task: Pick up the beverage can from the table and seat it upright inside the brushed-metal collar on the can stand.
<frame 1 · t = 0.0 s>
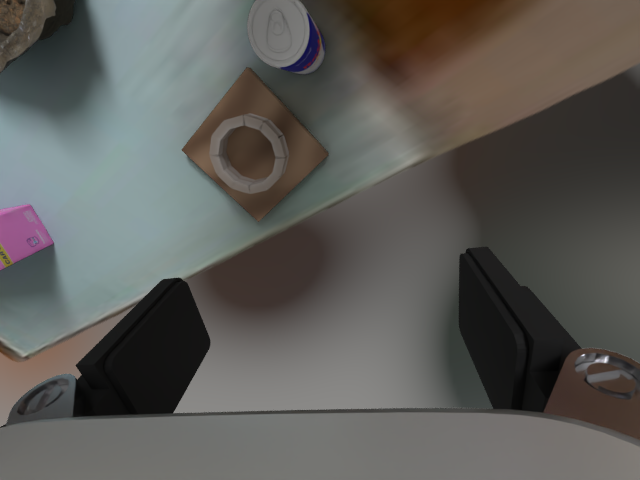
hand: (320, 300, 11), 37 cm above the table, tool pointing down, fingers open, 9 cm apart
beverage can: (303, 49, 40), on the table
can stand: (256, 150, 46), on the table
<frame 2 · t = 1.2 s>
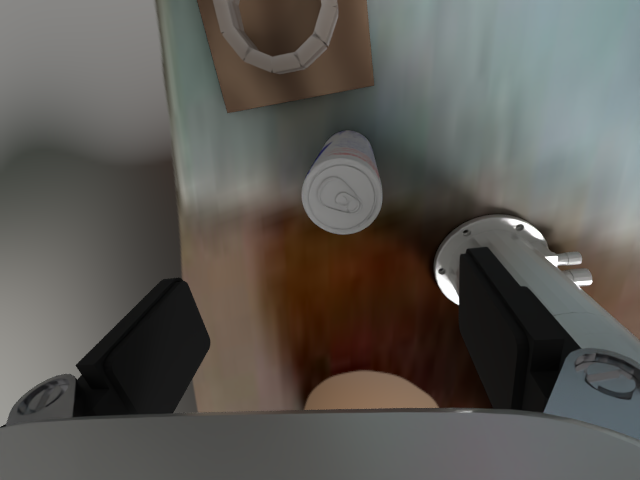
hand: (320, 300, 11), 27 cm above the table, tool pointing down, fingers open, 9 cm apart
beverage can: (347, 156, 35), on the table
can stand: (284, 13, 30), on the table
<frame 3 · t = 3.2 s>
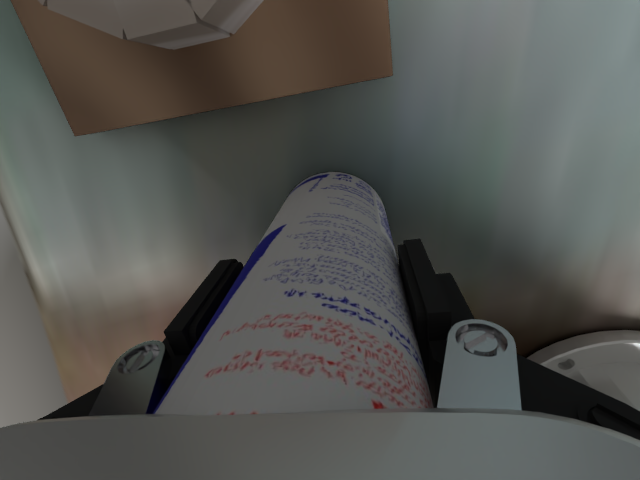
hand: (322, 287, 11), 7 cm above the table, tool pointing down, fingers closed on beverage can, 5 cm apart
beverage can: (334, 218, 18), on the table, touching gripper
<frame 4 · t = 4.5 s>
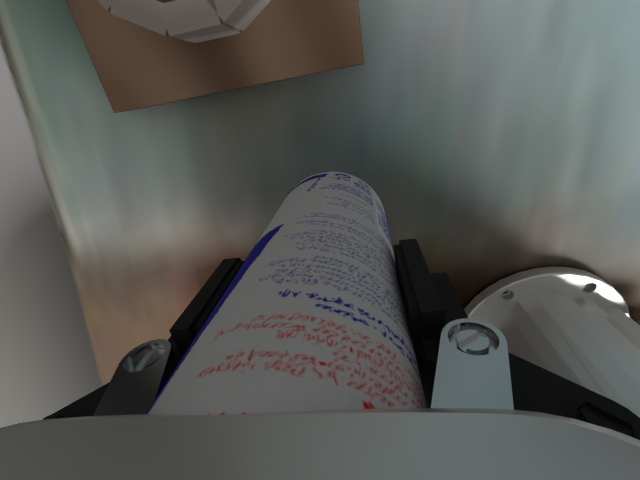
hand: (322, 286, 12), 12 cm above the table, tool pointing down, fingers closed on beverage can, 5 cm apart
beverage can: (333, 218, 18), point 5 cm above the table, touching gripper
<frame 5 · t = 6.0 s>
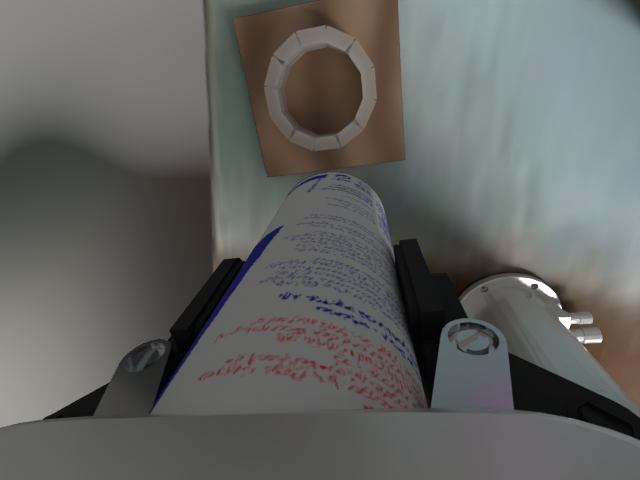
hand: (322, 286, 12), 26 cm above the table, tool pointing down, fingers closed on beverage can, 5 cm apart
beverage can: (333, 219, 18), point 19 cm above the table, touching gripper
can stand: (324, 93, 33), on the table
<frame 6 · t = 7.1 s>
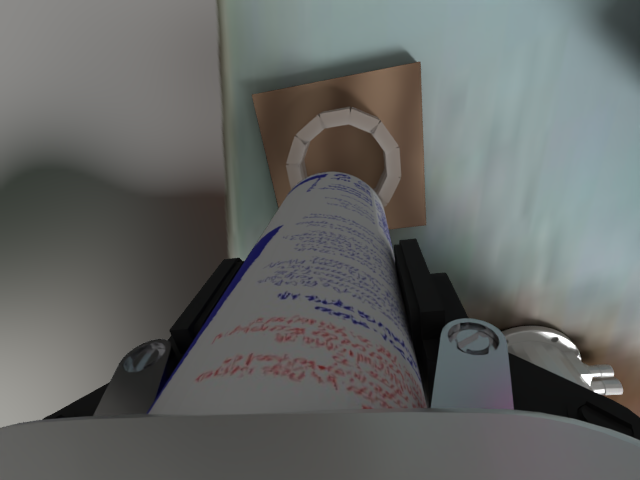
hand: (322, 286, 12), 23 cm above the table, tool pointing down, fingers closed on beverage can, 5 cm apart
beverage can: (332, 218, 17), point 16 cm above the table, touching gripper
can stand: (344, 160, 32), on the table
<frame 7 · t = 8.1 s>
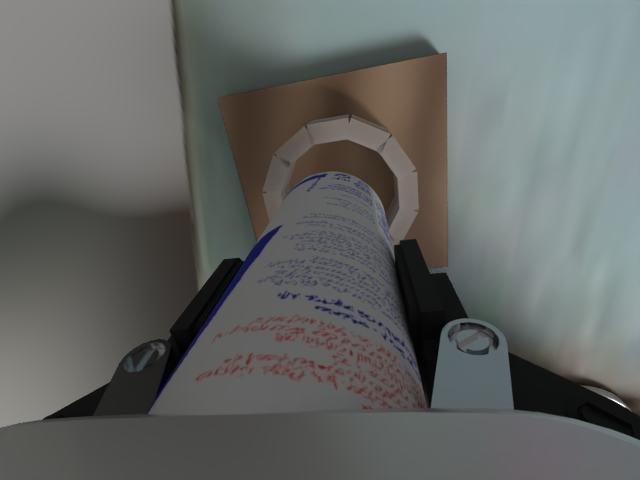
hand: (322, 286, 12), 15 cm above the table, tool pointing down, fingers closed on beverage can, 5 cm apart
beverage can: (332, 218, 17), point 8 cm above the table, touching gripper
can stand: (342, 183, 25), on the table
when the fingers open (9 cm above the table, at t = 9.7 s): beverage can stays where it is, resting on can stand.
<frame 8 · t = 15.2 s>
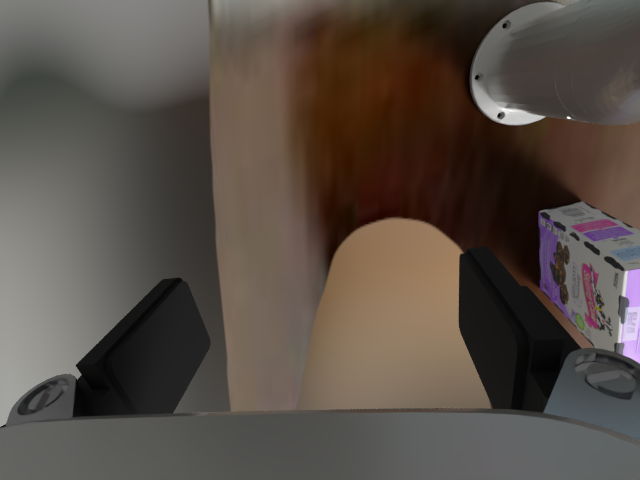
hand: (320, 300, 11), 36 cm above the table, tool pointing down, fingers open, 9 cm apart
candy box: (558, 247, 47), on the table
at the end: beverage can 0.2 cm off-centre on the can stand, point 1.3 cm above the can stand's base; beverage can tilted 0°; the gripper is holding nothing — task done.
